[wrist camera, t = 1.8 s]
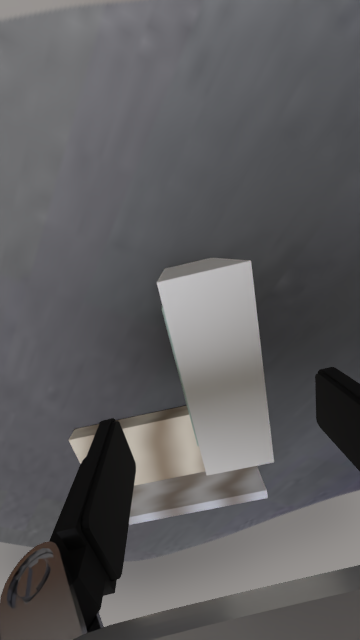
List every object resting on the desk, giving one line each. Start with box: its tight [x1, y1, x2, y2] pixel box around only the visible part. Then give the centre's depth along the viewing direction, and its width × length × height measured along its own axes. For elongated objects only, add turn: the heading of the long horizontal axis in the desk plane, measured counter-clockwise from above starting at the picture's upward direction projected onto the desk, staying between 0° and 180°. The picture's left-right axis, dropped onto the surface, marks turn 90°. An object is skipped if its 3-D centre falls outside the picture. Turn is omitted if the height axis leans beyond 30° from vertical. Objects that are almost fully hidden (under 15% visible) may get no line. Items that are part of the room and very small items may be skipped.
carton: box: [157, 258, 274, 476], centre depth 16 cm, size 5×13×10 cm, turn 13°
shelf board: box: [69, 406, 268, 525], centre depth 23 cm, size 20×10×5 cm, turn 103°
